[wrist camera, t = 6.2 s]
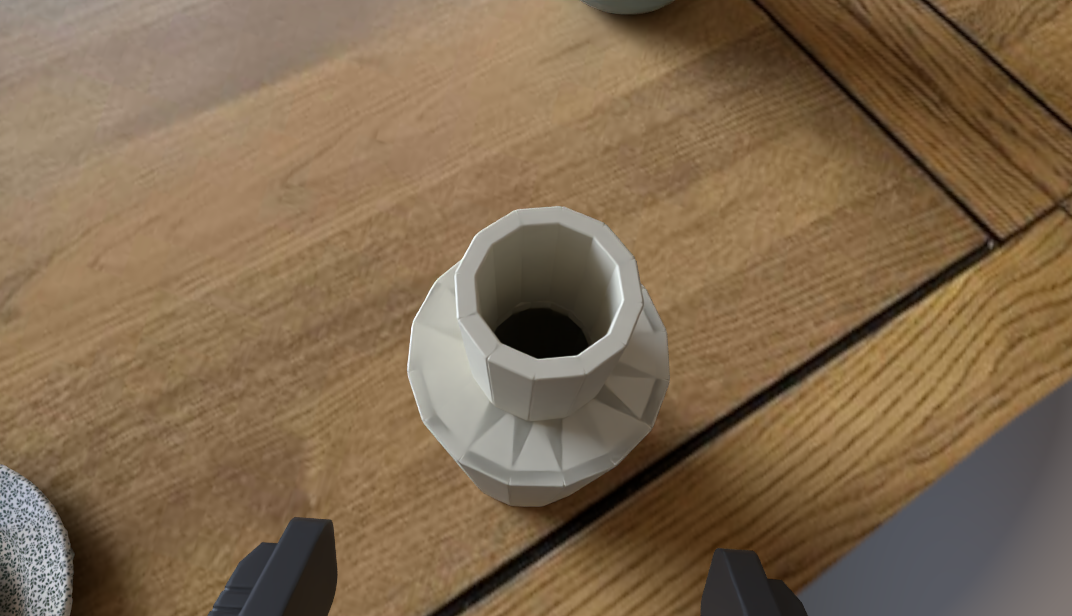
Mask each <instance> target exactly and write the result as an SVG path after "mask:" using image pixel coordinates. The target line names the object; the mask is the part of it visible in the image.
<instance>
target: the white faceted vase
mask: <svg viewBox="0 0 1072 616" xmlns="http://www.w3.org/2000/svg"><path fill="white" fill-rule="evenodd" d="M407 372H408V378H409V381H410V384H411V387H412V390H413V393H414V397H415V400H416V403H417V406H418V409H419V412H420V416H421V419H422V421H423V422H424V424H425V426H426V427H427V428H428V429H429V430H430V431H431V433H432V434H433V435H434V436H435V437H436V439H437V440H438V441H439V442H440V443H441V445H442V446H443V447H444V448H445V449H446V451H447V452H448V453H449V454H450V455H451V456H452V458H453V459H454V460H455V461H456V462H457V464H458V465H459V466H460V467H461V468H462V470H463V471H464V472H465V473H466V474H467V475H468V476H469V478H470V479H471V480H472V481H473V482H474V483H475V484H476V486H477V487H478V488H479V489H480V490H481V491H482V492H483V493H485V494H487V495H489V496H491V497H493V498H495V499H496V500H499V501H501V502H504V503H506V504H508V505H511V506H523V507H541V506H545V505H547V504H550V503H552V502H555V501H557V500H560V499H562V498H565V497H567V496H569V495H571V494H573V493H574V492H576V491H577V490H579V489H581V488H582V487H584V486H585V485H587V484H589V483H590V482H592V481H593V480H595V479H597V478H598V477H600V476H601V475H603V474H605V473H606V472H608V471H609V470H611V469H613V468H614V467H616V466H617V465H618V464H619V463H620V462H621V461H622V460H623V459H624V458H625V457H626V456H627V455H628V454H629V453H630V452H631V451H632V450H633V449H634V448H635V447H636V446H637V445H638V443H639V442H640V441H641V440H642V439H643V438H644V437H645V436H646V435H647V434H648V433H649V432H650V431H651V429H652V428H653V426H654V423H655V421H656V418H657V415H658V413H659V410H660V407H661V404H662V402H663V399H664V396H665V393H666V391H667V388H668V385H669V380H670V373H669V356H668V339H667V332H666V329H665V327H664V324H663V322H662V320H661V318H660V316H659V314H658V312H657V310H656V308H655V306H654V304H653V302H652V300H651V298H650V296H649V294H648V292H647V290H646V289H645V287H644V286H643V285H642V284H641V283H640V277H639V272H638V267H637V261H636V260H635V257H634V256H633V255H632V254H631V252H630V251H629V250H628V249H627V248H626V247H625V245H624V244H623V243H622V242H621V241H620V240H619V238H618V237H617V236H616V235H615V234H614V233H613V231H612V230H611V229H610V228H609V227H608V226H607V225H605V223H603V222H601V221H598V220H596V219H593V218H591V217H588V216H586V215H583V214H581V213H578V212H576V211H573V210H571V209H568V208H566V207H561V206H557V207H543V208H530V209H518V210H516V211H513V212H511V213H509V214H508V215H506V216H504V217H503V218H501V219H499V220H498V221H496V222H495V223H493V224H491V225H490V226H488V227H486V228H485V229H483V230H482V231H480V232H478V233H477V235H475V237H474V239H473V240H472V242H471V244H470V246H469V248H468V250H467V251H466V253H465V255H464V257H463V259H462V260H460V261H459V262H458V263H457V264H455V265H454V266H453V267H452V268H451V269H449V270H448V271H447V272H446V273H444V274H443V275H442V276H441V277H439V278H438V279H437V281H435V283H434V285H433V286H432V288H431V290H430V292H429V294H428V295H427V297H426V299H425V301H424V303H423V304H422V306H421V308H420V310H419V311H418V313H417V315H416V317H415V319H414V320H413V324H412V329H411V338H410V348H409V357H408V366H407Z"/></svg>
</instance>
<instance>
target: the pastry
mask: <svg viewBox="0 0 1072 616" xmlns="http://www.w3.org/2000/svg"><path fill="white" fill-rule="evenodd" d="M70 545H71V544H70V540H69V538H68V532H67V530H66V529H65V528H64V526H63V523H62V522H61V518H60V516H59V515H58V513H57V511H56V509H55V506H54V505H53V504H51V503H50V501H49V500H48V498H47V497H46V496H45V495H44V493H42V491H40V490H39V489H38V487H37V486H35V485H34V484H33V483H32V482H30V481H29V480H28V479H26V478H24V477H23V476H22V475H20V474H19V473H17V472H15V471H14V470H11V469H10V468H8V467H6V466H4V465H1V464H0V616H70V612H71V607H72V602H73V599H72V590H73V589H72V585H73V574H74V571H73V557H74V555H75V553H73V550H72V548H70Z"/></svg>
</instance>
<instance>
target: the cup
mask: <svg viewBox="0 0 1072 616" xmlns="http://www.w3.org/2000/svg"><path fill="white" fill-rule="evenodd" d="M580 1H581V2H583V3H585V4H586V5H588V6H590V7H592V8H595V9H597V10H600V11H604V12H608V13H613V14H623V15H632V14H642V13H648V12H652V11H655V10H658V9H660V8H663V7H665V6H667V5H669V4H670V3H672V2H674V1H675V0H580Z"/></svg>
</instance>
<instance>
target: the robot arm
mask: <svg viewBox="0 0 1072 616" xmlns="http://www.w3.org/2000/svg"><path fill="white" fill-rule="evenodd" d="M336 585H337V561H336V550H335V539H334V528H333V522H332V520H328V519H314V518H300V517H294V518H293V519H292V520H291V521H290V522H289V524H288V526H287V527H286V529H285V531H284V533H283V535H282V537H281V538H280V540H279V542H278V543H265V542H262V543H261V544H260V545H259V546H257V547H256V548H255V549H254V550H253V551H252V552H251V553H250V554H248V555H247V556H246V557H245V558H244V559H243V560H242V561H240V562H239V564H238V566H237V567H236V569H235V571H234V572H233V574H232V576H231V577H230V579H229V581H228V582H227V584H226V586H225V590H224V591H222V592H221V594H220V596H219V597H218V599H217V601H216V602H215V604H214V606H213V610H212V611H210V612H209V614H208V616H328V613H329V610H330V608H331V605H332V602H333V599H334V595H335V591H336ZM701 616H808V615H807V613H806V611H805V609H804V606H803V604H802V602H801V601H800V600H799V599H798V598H797V597H796V596H795V594H794V593H793V592H792V591H791V590H790V589H789V588H788V587H787V585H786V584H785V583H784V582H783V581H782V580H776V579H767V576H766V574H765V571H764V569H763V567H762V564H761V562H760V559H759V557H758V555H757V554H756V553H755V552H754V551H751V550H737V549H723V548H717V549H716V550H715V552H714V554H713V558H712V562H711V565H710V569H709V573H708V577H707V580H706V584H705V588H704V591H703V595H702V600H701Z"/></svg>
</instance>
